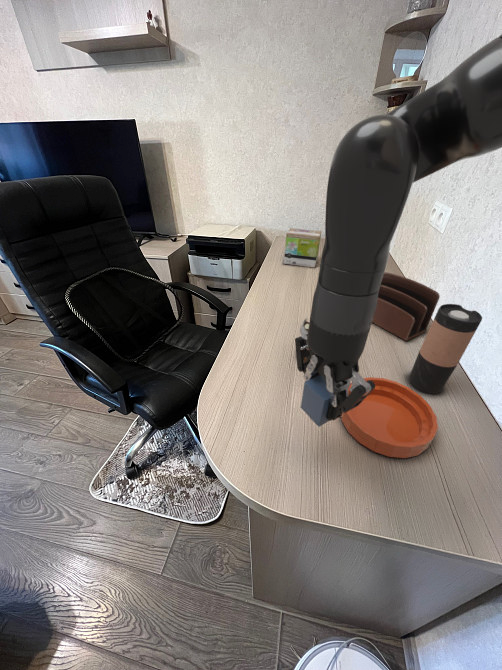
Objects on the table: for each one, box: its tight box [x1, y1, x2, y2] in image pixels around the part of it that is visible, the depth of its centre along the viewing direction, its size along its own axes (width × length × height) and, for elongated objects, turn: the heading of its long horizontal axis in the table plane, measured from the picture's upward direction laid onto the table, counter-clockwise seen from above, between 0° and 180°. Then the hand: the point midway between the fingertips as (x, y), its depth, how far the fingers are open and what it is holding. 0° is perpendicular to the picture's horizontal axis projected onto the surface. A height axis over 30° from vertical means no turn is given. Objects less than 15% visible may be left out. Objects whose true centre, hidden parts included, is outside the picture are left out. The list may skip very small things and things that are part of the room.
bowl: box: [340, 377, 439, 459], centre depth 57 cm, size 18×18×4 cm
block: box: [300, 374, 340, 428], centre depth 44 cm, size 4×4×6 cm
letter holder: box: [372, 271, 440, 342], centre depth 86 cm, size 10×20×14 cm, turn 31°
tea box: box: [283, 227, 322, 268], centre depth 131 cm, size 15×10×15 cm, turn 73°
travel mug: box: [408, 303, 483, 395], centre depth 62 cm, size 8×8×20 cm
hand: (320, 405), depth 45 cm, fingers closed on block, 4 cm apart
